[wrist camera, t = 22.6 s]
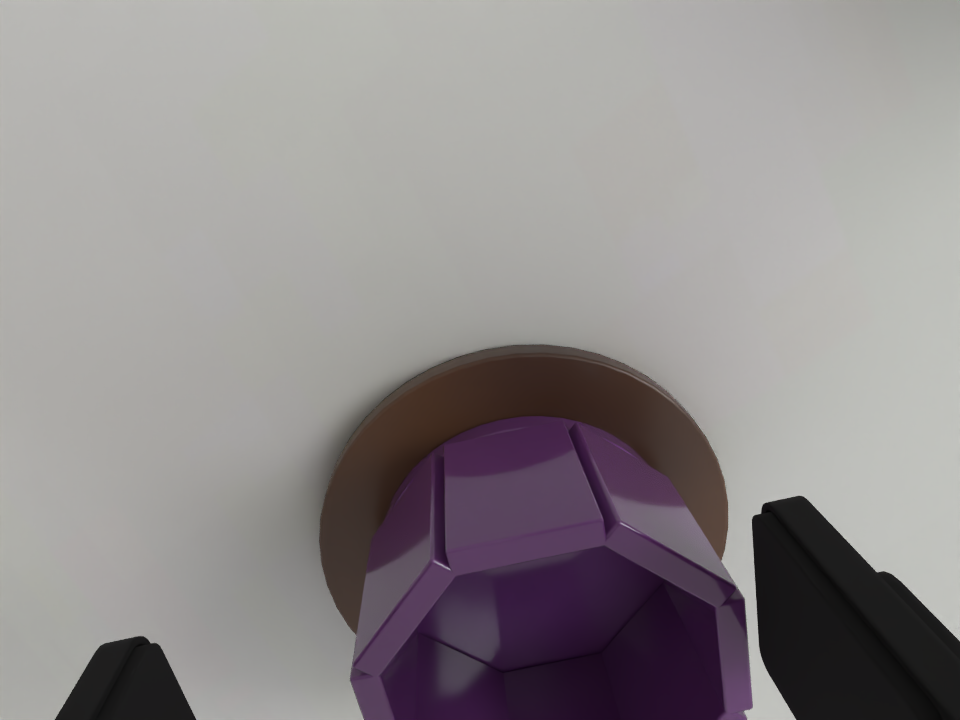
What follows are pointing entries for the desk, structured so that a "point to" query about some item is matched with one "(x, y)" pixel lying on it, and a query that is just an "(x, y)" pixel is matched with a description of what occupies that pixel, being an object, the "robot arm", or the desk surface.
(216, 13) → the desk surface
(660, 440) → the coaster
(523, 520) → the dish plum
